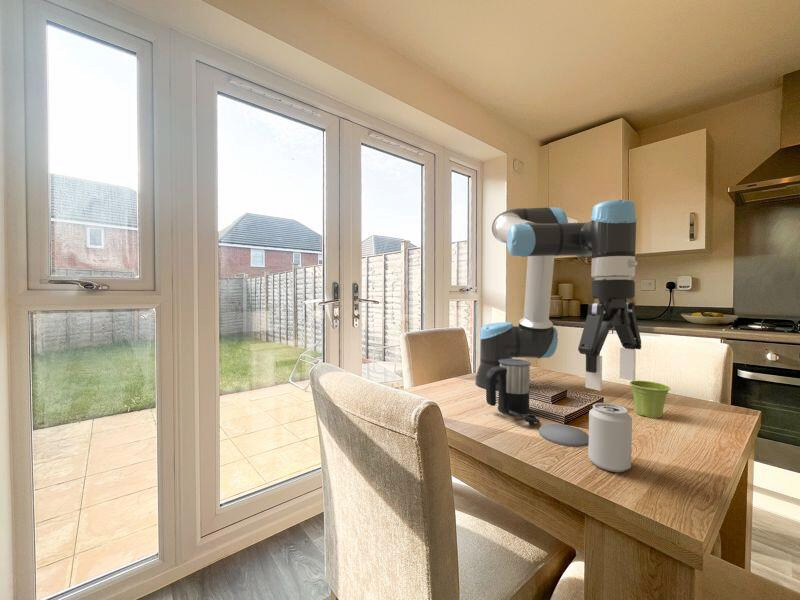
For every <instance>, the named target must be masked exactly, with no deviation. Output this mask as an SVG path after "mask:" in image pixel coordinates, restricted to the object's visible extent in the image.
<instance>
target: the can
mask: <svg viewBox="0 0 800 600" xmlns="http://www.w3.org/2000/svg"><path fill="white" fill-rule="evenodd" d="M628 413H629V410H628V409H627V408H626V407H624V406H622V405H618V404H615V403H611V402H610V403H609V402H596V403H594V404H592V408H591V409H590V410H589V412H588V435H589V443H588V449H587V450H588V452H587V453H588V454H587V456H588V459H589V460H590V461H591V462H592V463H593V464H594V465H595V466H596V467H598V468H599V469H602V470H603V471H609V472H611V473H612V472H613V473H622V472H626V471H627V470H629V469H630V468H631V467H632V441H633V439H632V438H633V435H632V434H633V433H632V432H633V428H632V427H633V418H632V416H631V415H630V414H628Z"/></svg>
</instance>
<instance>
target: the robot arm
mask: <svg viewBox="0 0 800 600" xmlns="http://www.w3.org/2000/svg"><path fill="white" fill-rule="evenodd" d="M636 213H637V211H636V204H635V202H634V201H632V200H629V199H613V200H606V201H602V202H598V203H596V204H595V205H593V207H592V211H591V217H590V219H591V220H590V221H587V222H569V219H568V216H567V213H566V212H565V210H564V209H562V208H560V207H551V206H550V207H549V206H548V207H547V206H546V207H526V208H525V207H523V208H522V207H521V208H512V209H509V210H508V209H507V210H506V211H503V212H500V213H499V214H498V215H497V216H496V217H495V219H494V220H493V222H492V224H491V233H492V234H493V237H494V238H495V239H496V240H497V241H499V242H501V243H504V244H506V245H507V246H506V248H507V252H508V254H509V255H510V256H514V257H521V258H527V263H526V276H525V277H526V278H525V291H524V292H525V293H524V308H523V317H522V318H521V319H519V320H518V325H515V326H514V325H513V323H512V322H509V321H506V322H495V323H494V322H493V323H488V324H484V325H483V326H481V328H480V336H479V339H480V351H479V352H480V353H479V354H480V356H479V357H480V358H479V359H480V361H479V362H480V363H479V366H478V369H477V372H476V375H475V379H474V380H475V381H474V383H475V385H476V386H478V387H480V388H481V389H482V388H483V389H486V374H487V372H488V371H489V370H490V369H491V368H493V367H498V366H500V362H499V360H501V359H514V358H515V359H520V358H521V359H522V358H523V359H525V358H526V359H538V360H540V359H549V358H551V357H552V356H553V355H555V353H556V350H557V348H558V343H559V342H558V341H559V338H558V335H559V334H558V330H557V329H556V327H554V326H553V325H554V323H553V322H552V321H551V320H550V310H551V298H552V288H553V287H552V286H553V276H554V265H555V264H554V263H555V256H556V257H559V256H561V257H563V256H565V257H566V256H567V257H568V256H572V257H573V256H574V257H579V258H591V267H590V269H591V271H590V274H591V275H590V276H591V278H592V279H594V280H592V281H591V283H590V284H591V285H590V286H591V287H590V292H591V293H590V296H591V298H592V299H594V300H595V299H597V300H598V301H597V303H595V302H593V303H588V305H587V315H586V319H585V323H584V326H583V330H582V332H581V337H580V341H579V344H578V347H577V349H578V350H577V351H578V352H579V354H582V355H585V383H584V385H585V388H587V389H590V390H596V391H602V389H603V355H600V354H601V351H602V349H603V346H604V344H605V341H606V339H607V337H608V335H609V332H610V330H611V329H613V328H614V330H615V332H616V334H617V337H618V339H619V341H620V344H621V346H622V347H620V348H619V379H623V380H629V381H636V354H637V353H636V352H637V351H636V350H642V339H641V335H640V329H639V327H638V326H639V325H638V321H637V316H636V310H635V308H636V307H635V305H636V304H635V303H634V302H627V301H626V300H629V299H630V300H631V299H634V298H635V297H636V282H635V281H634V279H632V278H634V277H635V275H636V266H638V261H637V260H636V244H637V243H636V242H637V240H636V238H637V221H638V218H637V216H636V215H637V214H636ZM495 384H496V391H499V375H498V376H497V377H496V381H495Z"/></svg>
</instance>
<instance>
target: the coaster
mask: <svg viewBox="0 0 800 600" xmlns="http://www.w3.org/2000/svg"><path fill="white" fill-rule="evenodd" d="M539 435H540V437H541V438H543V439H545V440H547V441H548V442H551V443H553V444H557V445H559V446H560V445H561V446H567V447H580V446H581V447H582V446H585V445H589V433H587V432H586V431H584V430H582V429H580V428H578V427H575V426H572V425H567V424H561V423H547V424H543V425H541V426H540V427H539Z"/></svg>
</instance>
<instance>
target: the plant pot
mask: <svg viewBox="0 0 800 600" xmlns="http://www.w3.org/2000/svg"><path fill="white" fill-rule="evenodd" d="M629 385H630V386H631V390H632V395H633V402H634V403H633V404H634V411H635V413H636V414H637V415H639V416H644V417H647V418H650V419H661V417H663V412H664V408H665V402H666V399H667V395H668V393H669V391H670V390H671V387H670V386H669V385H666V384H664V383H658V382H655V381H648V380H634V381H632V380H629Z"/></svg>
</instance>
